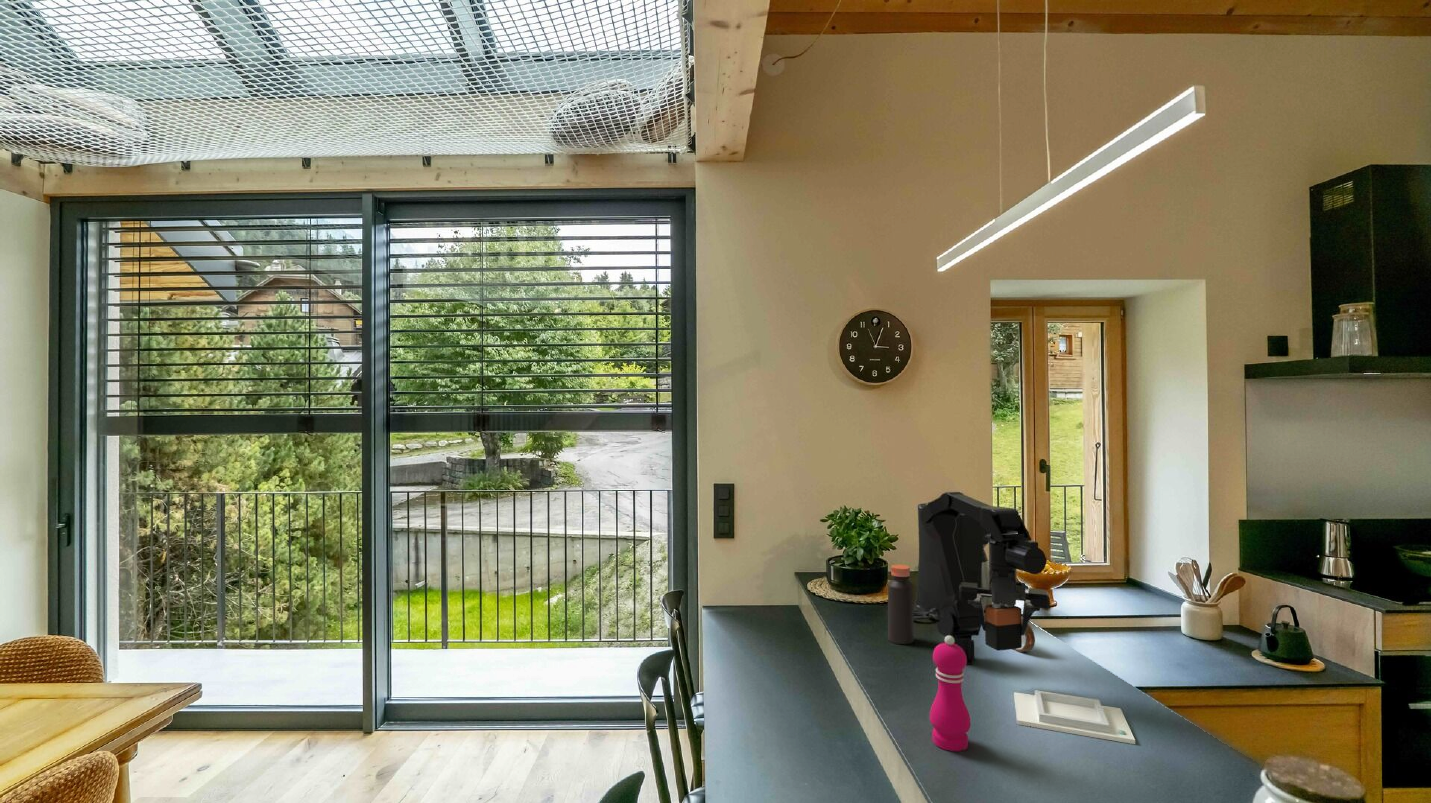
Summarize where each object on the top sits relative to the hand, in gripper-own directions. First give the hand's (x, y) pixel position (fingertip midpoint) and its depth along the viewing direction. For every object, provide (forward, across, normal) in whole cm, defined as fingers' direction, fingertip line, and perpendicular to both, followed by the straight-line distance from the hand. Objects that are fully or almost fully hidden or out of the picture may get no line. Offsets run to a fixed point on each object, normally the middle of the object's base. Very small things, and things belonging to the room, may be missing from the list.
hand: (1003, 632), depth 146 cm
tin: (+12, +2, +28) cm, 31 cm away
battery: (+3, 0, 0) cm, 3 cm away
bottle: (+12, -25, +21) cm, 35 cm away
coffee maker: (+12, -16, +54) cm, 58 cm away
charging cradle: (+12, +12, -12) cm, 21 cm away
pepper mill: (+12, -10, -32) cm, 36 cm away
